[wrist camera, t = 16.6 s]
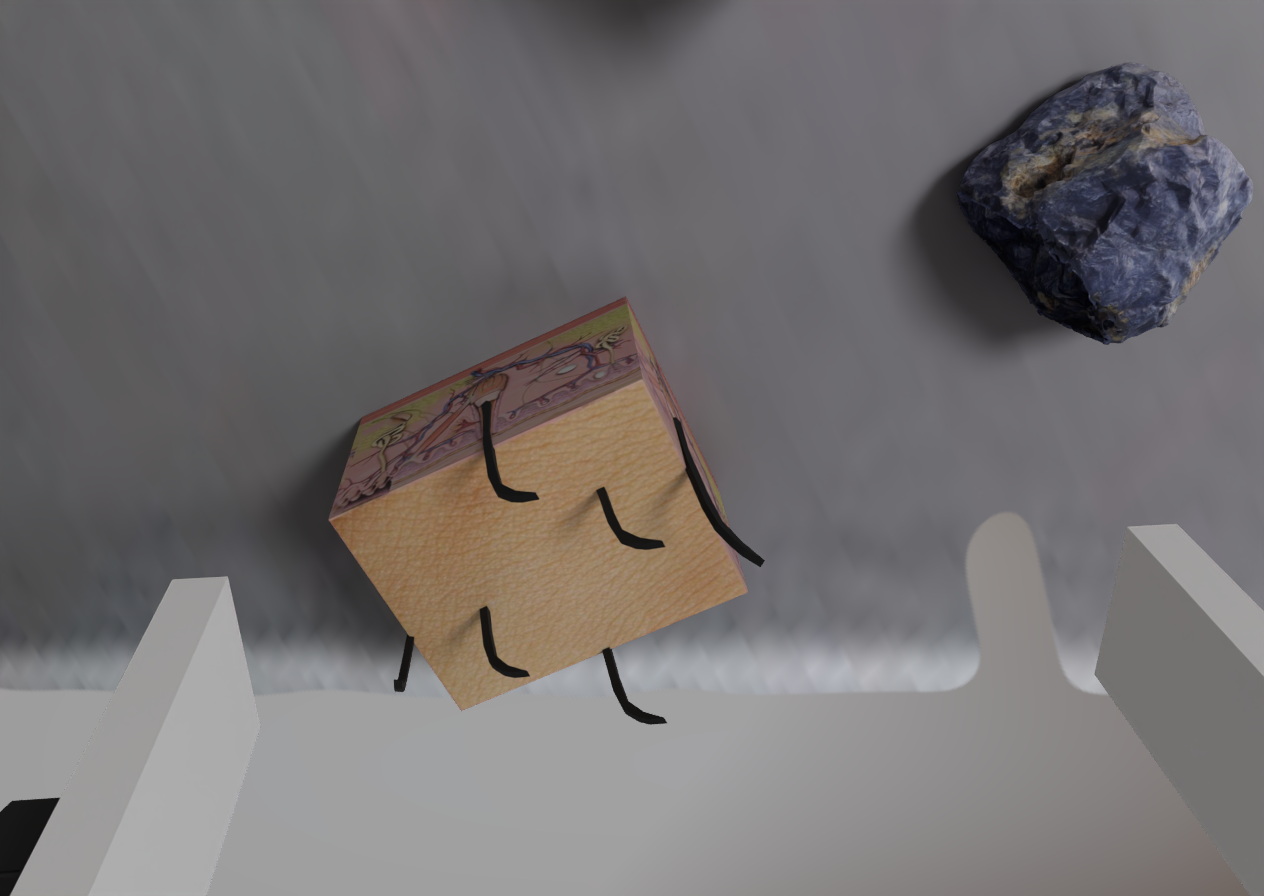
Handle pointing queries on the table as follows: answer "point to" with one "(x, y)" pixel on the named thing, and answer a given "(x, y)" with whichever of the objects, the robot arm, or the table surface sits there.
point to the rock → (1108, 202)
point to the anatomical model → (538, 511)
